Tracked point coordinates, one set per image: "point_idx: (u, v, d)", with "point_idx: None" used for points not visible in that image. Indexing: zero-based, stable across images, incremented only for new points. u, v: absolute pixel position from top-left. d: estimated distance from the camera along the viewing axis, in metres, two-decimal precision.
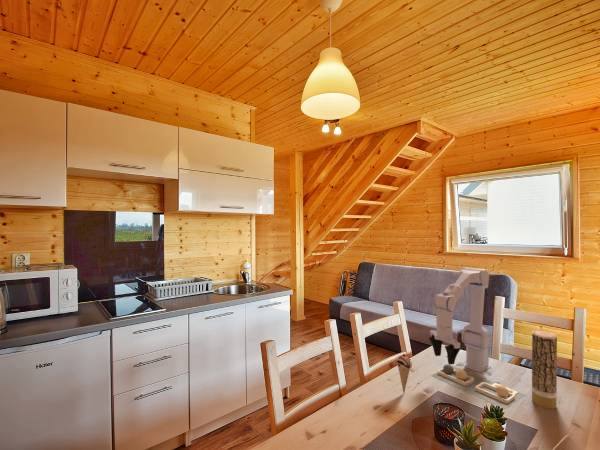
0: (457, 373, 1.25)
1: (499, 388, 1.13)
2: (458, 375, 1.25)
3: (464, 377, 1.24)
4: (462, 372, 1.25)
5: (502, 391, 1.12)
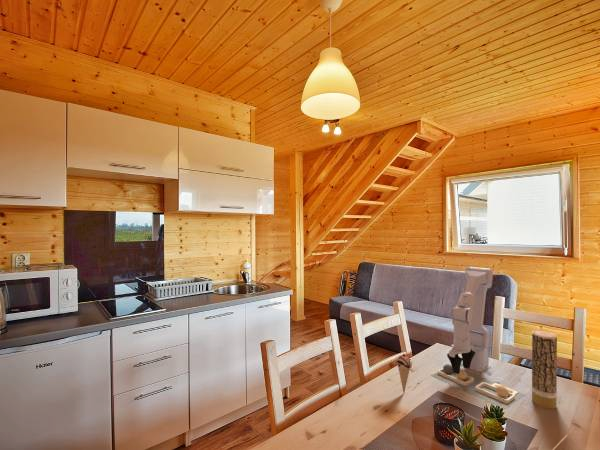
0: None
1: (499, 388, 1.13)
2: (458, 375, 1.25)
3: (464, 377, 1.24)
4: (462, 372, 1.25)
5: (502, 391, 1.12)
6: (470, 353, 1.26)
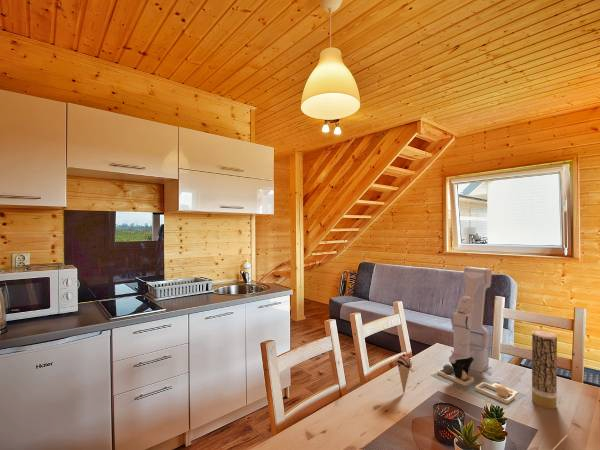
0: None
1: (499, 388, 1.13)
2: None
3: (464, 377, 1.24)
4: (462, 372, 1.25)
5: (502, 391, 1.12)
6: (468, 359, 1.26)
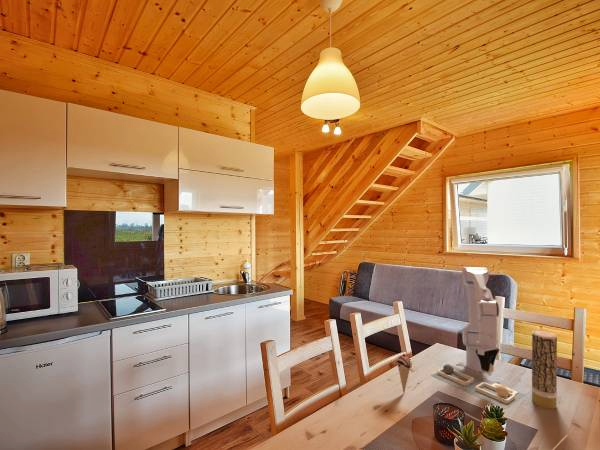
0: None
1: (499, 388, 1.13)
2: None
3: (491, 369, 1.16)
4: None
5: (502, 391, 1.12)
6: (494, 350, 1.18)
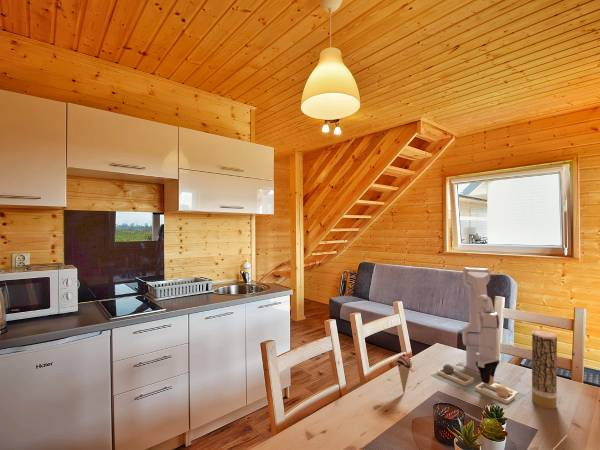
0: None
1: (499, 388, 1.13)
2: None
3: (491, 382, 1.16)
4: None
5: (502, 391, 1.12)
6: (494, 362, 1.18)
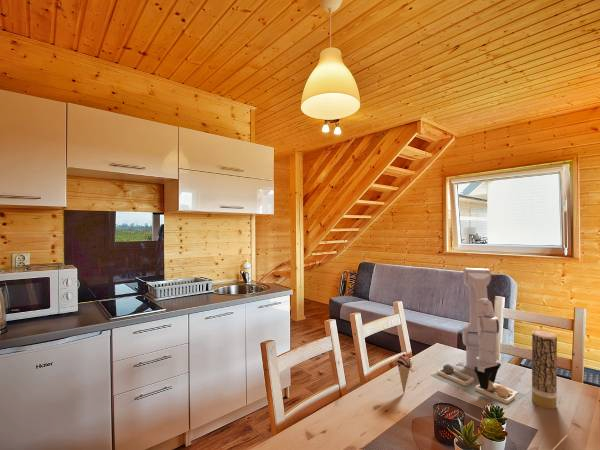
0: None
1: (499, 388, 1.13)
2: None
3: (491, 388, 1.16)
4: (489, 383, 1.16)
5: (502, 391, 1.12)
6: (496, 365, 1.19)
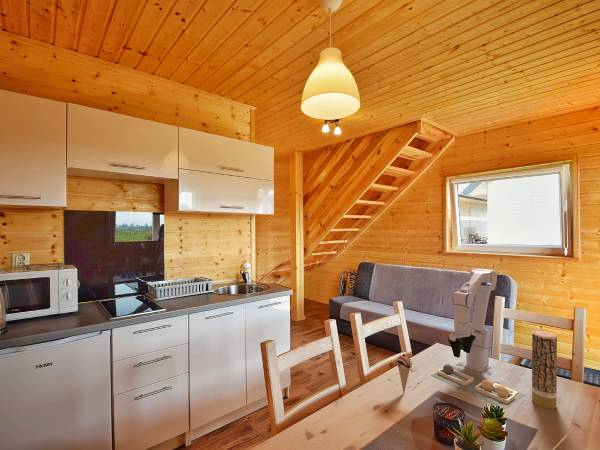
0: (484, 384, 1.17)
1: (499, 388, 1.13)
2: (485, 386, 1.16)
3: (491, 388, 1.16)
4: (489, 383, 1.16)
5: (502, 391, 1.12)
6: (470, 337, 1.28)
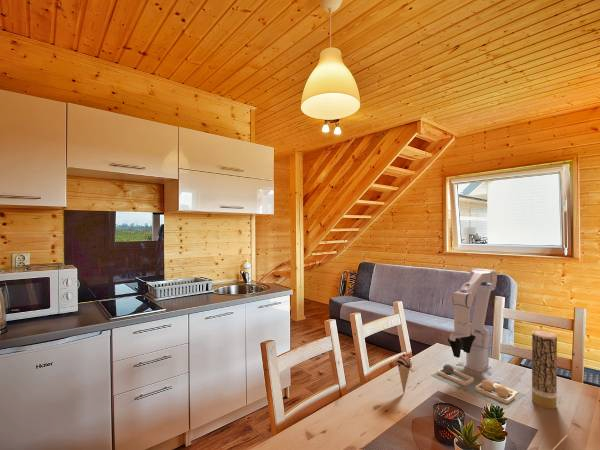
0: (484, 384, 1.17)
1: (499, 388, 1.13)
2: (485, 386, 1.16)
3: (492, 388, 1.16)
4: (489, 383, 1.16)
5: (502, 391, 1.12)
6: (470, 337, 1.28)
